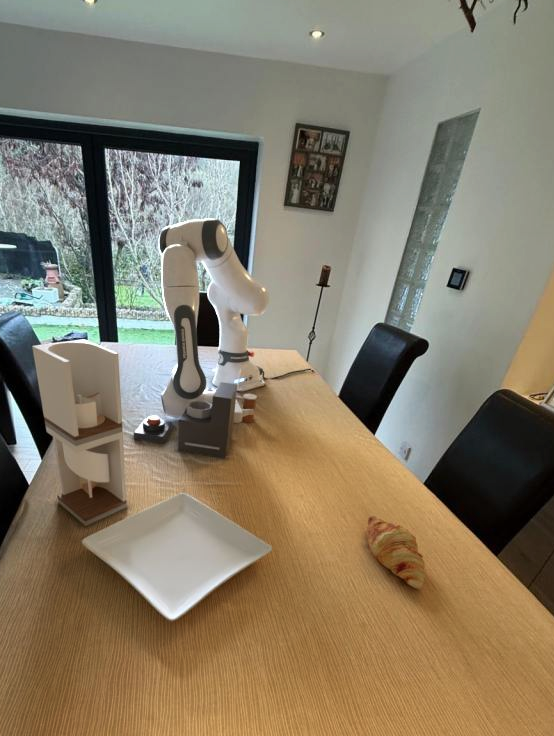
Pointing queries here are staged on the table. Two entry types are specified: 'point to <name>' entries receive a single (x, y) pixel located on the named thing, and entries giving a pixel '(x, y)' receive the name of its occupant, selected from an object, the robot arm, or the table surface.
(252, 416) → the coffee pod
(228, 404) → the coffee maker
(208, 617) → the table surface
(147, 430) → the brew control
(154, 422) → the brew button
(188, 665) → the table surface
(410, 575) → the croissant
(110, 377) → the spiral staircase model
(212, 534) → the square plate
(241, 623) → the table surface
